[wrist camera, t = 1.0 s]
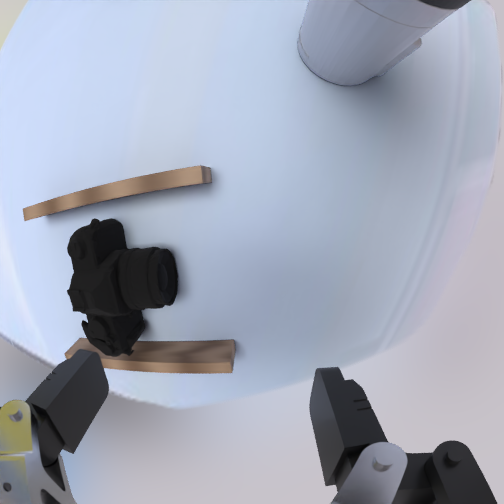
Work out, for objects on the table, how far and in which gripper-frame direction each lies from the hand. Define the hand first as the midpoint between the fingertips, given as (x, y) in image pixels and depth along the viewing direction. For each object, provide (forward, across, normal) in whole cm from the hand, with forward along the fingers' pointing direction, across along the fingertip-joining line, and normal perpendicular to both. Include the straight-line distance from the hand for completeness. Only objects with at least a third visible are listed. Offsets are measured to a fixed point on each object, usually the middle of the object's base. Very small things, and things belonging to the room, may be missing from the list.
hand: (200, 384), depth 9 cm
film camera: (+21, +11, +3) cm, 24 cm away
